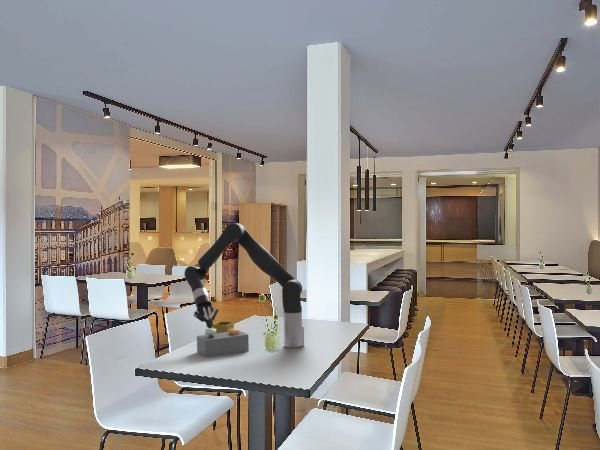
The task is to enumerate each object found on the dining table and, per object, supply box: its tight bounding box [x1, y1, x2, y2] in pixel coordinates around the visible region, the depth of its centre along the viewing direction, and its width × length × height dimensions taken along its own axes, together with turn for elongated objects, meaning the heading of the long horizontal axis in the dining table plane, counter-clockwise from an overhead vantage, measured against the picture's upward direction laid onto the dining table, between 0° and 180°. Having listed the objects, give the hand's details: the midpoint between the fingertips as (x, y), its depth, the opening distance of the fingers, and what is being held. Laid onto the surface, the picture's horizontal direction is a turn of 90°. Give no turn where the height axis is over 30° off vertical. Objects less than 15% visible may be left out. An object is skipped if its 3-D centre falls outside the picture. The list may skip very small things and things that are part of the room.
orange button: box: [229, 327, 240, 335], centre depth 237 cm, size 5×5×4 cm
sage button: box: [204, 328, 216, 338], centre depth 231 cm, size 5×5×4 cm
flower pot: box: [212, 321, 235, 333], centre depth 260 cm, size 9×9×9 cm
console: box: [196, 330, 250, 359], centre depth 234 cm, size 22×12×8 cm, turn 121°
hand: (210, 327), depth 231 cm, fingers closed
